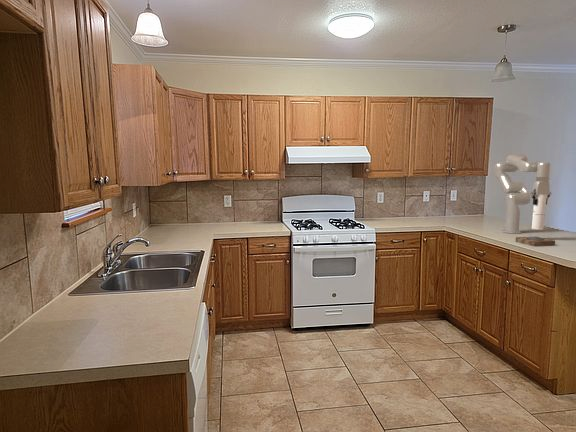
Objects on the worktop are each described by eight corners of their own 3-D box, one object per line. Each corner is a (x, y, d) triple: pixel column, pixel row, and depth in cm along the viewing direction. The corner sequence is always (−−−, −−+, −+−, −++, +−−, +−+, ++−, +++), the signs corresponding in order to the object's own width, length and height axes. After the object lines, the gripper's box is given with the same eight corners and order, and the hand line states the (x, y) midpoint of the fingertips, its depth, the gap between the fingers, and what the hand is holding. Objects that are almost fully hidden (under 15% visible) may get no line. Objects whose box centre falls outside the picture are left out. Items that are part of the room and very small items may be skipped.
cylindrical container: (538, 227, 272) (542, 193, 268) (545, 229, 265) (549, 194, 261) (529, 227, 272) (532, 194, 268) (536, 229, 265) (539, 195, 261)
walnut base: (515, 241, 261) (515, 236, 261) (535, 240, 264) (536, 235, 263) (533, 246, 246) (534, 241, 245) (554, 245, 248) (555, 240, 248)
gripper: (548, 179, 268) (546, 203, 270) (527, 179, 265) (524, 204, 268) (557, 179, 260) (554, 204, 263) (535, 180, 258) (533, 205, 261)
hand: (539, 204), depth 265 cm, fingers closed on cylindrical container, 7 cm apart
